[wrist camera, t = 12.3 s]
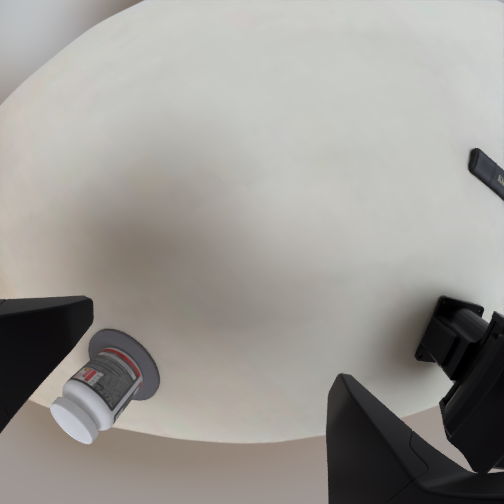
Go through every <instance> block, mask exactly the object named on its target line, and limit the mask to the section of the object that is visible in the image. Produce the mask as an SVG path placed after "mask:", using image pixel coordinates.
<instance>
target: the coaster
mask: <svg viewBox="0 0 504 504" xmlns="http://www.w3.org/2000/svg"><path fill="white" fill-rule="evenodd" d="M105 348H116V349H119V350H121V351H123V352H125V353H126V354H128V355H129V356H130V357H131V358H132V359H133V360H134V361H135V362H136V364H137V365H138V367H139V368H140V370H141V373H142V377H143V382H142V386H141V388H140V389H139V391H138V392H137V393H136V395H135V396H134V397H133V399H132V400H146V399H149V398H151V397H152V396H153V395H154V394H155V392H156V391H157V389H158V387H159V383H160V377H159V372H158V369H157V366H156V364H155V362H154V360H153V359H152V357H151V356H150V354H149V353H148V352H147V351H146V349H145V348H144V347H143V346H142V345H141V344H140V343H138V342H137V341H136V340H135V339H133V338H132V337H130V336H129V335H127V334H125V333H123V332H120V331H117V330H113V329H105V330H102V331H100V332H98V333H97V334H95V335H94V336H93V337H92V339H91V340H90V343H89V357H90V360H91V359H92V358H93V357H95V356H96V355H97V354H98V353H99V352H100V351H101V350H103V349H105Z"/></svg>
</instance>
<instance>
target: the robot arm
mask: <svg viewBox="0 0 504 504" xmlns="http://www.w3.org/2000/svg"><path fill="white" fill-rule="evenodd" d="M444 300H445V302H444V303H443V301H444ZM479 311H480V312H479ZM483 312H484V308H483V307H482V306H480V305H477V304H473V303H469V302H466V301H462V300H458V299H455V298H451V297H447V296H442V297H441V298H440V299H439V302H438V304H437V307H436V309H435V312H434V314H433V316H432V319H431V321H430V323H429V325H428V328H427V330H426V332H425V334H424V337H423V339H422V341H421V343H420V345H419V347H418V349H417V351H416V353H415V358H416V359H417V360H418V361H425V362H435V363H437V364H438V365H439V366H440V367H441V368H442V370H443V371H444V372H445V374H446V375H447V376H448V377H449V379H450V380H452V382H453V383H454V385H453V386H452V387H451V389H450V390H449V392H448V393H447V394H446V396H445V397H444V398H442V399H441V401H440V402H439V405H440V409H441V414H442V419H443V425H444V429H445V433H446V436H447V439H448V441H449V442H450V443H451V444H452V445H454V446H455V447H456V448H457V449H459V450H460V452H461V453H462V454H463V455H464V457H465V458H466V459H467V461H468V463H469V465H470V466H471V468H472V470H473V471H474V472H477V473H473V472H470V471H467V470H466V469H464V468H463V467H461V466H459V465H458V464H457V463H455V462H454V461H452V460H451V459H449V458H448V457H446V456H445V455H444V454H442V453H441V452H439V451H438V450H436V449H435V448H434V447H432V446H431V445H430V444H428V443H427V442H426V441H425V440H424V439H422V438H421V437H420V436H419V435H418V434H416V433H415V432H414V431H412V429H411V428H410V427H408V426H407V425H406V424H405V423H404V422H403V421H401V420H400V419H399V418H398V417H397V416H396V415H395V414H394V413H393V412H391V411H390V410H389V409H388V408H387V407H386V406H385V405H384V404H382V403H381V402H380V401H379V400H378V399H377V398H376V397H375V396H373V395H372V394H371V393H370V392H369V391H368V390H367V389H366V388H365V387H363V386H362V385H361V384H360V383H359V382H358V381H357V380H356V379H355V378H354V377H352V376H351V375H349V374H343V373H340V374H338V376H337V377H336V379H335V381H334V383H333V385H332V387H331V389H330V391H329V394H328V406H327V424H326V443H327V462H328V496H329V504H504V472H497V473H488V472H489V471H490V470H491V469H492V468H494V469H503V470H504V315H502V314H500V313H498V312H496V311H494V313H493V315H492V319H491V321H490V323H488V322H486V321H485V320H484V319H482V318H481V317H482V315H483ZM93 319H94V314H93V301H92V299H91V298H88V297H86V296H83V295H82V296H66V297H47V298H25V299H7V300H6V299H0V433H1V432H2V431H3V429H4V428H5V427H6V425H7V424H8V423H9V421H10V419H12V418H13V416H14V415H15V414H16V413H17V412H18V410H19V409H20V408H21V407H22V406H23V404H24V403H25V402H26V401H27V400H28V398H29V397H30V396H31V395H32V394H33V393H34V391H35V390H36V389H37V388H38V387H39V386H40V385H41V383H42V382H43V381H44V380H45V379H46V378H47V377H48V376H49V375H50V373H51V372H52V371H53V370H54V369H55V368H56V367H57V366H58V365H59V364H60V363H61V361H62V360H63V359H64V358H65V357H66V356H67V355H68V354H69V353H70V352H71V351H72V349H73V348H74V347H75V346H76V344H77V343H78V342H79V340H80V339H81V338H82V336H83V335H84V334H85V333H86V331H87V330H88V329H89V327H90V326H91V325H92V323H93ZM420 354H421V355H420ZM419 355H420V356H419Z"/></svg>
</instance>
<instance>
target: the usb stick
mask: <svg viewBox="0 0 504 504" xmlns="http://www.w3.org/2000/svg"><path fill="white" fill-rule="evenodd" d="M469 168H470V172H472V173H473V174H474V175H476V176H477V177H478V178H479V179H481V180H482V181H483V182H484V183H485V184H487V185H488V186H489V187H490V188H491V189H493V190H494V191H495V192H496V193H497V194H498V195H499V196H501V197H502V198H503V199H504V170H503V169H502V168H500V167H499V166H498V165H497V164H496V163H495V162H494V161H493V160H492V159H491V158H489V157H488V156H487V155H486V154H485V153H483V152H482V150H480V149H479V148H475V149H474V150H472V153H471V159H470V163H469Z"/></svg>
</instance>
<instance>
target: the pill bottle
mask: <svg viewBox="0 0 504 504" xmlns="http://www.w3.org/2000/svg"><path fill="white" fill-rule="evenodd" d="M142 382H143V377H142V373H141V370H140V368H139V367H138V365H137V364H136V362H135V361H134V360H133V359H132V358H131V357H130V356H129V355H128V354H126V353H125V352H123V351H121V350H119V349H116V348H105V349H103V350H101V351H100V352H99V353H98V354H97V355H96V356H95V357H93V358H92V359H91V360H90V361H89V362H88V363H87V364H86V365H85V366H83V367H82V368H81V369H80V370H79V371H78V372H77V373H76V374H74V375H73V376H72V377H71V378H70V379H69V380H68V381H67V382H66V383H65V384H64V386H63V391H62V393H63V397H58V398H57V399H56V400H55V401H54V402H53V403H52V404H51V406H50V409H51V413H52V415H53V417H54V418H55V420H56V421H57V423H58V424H59V425H60V426H61V427H62V428H63V430H64V431H65V432H67V433H68V434H69V435H70V436H72V437H73V438H74V439H76V440H78V441H80V442H82V443H85V444H91V443H92V442H93V441H94V439H95V438H96V437H97V435H98V430H107V429H109V428H110V427H111V426H112V425H113V424H114V423H115V421H116V420H117V419H118V417H119V416H120V415H121V413H122V412H123V411H124V409H125V408H126V407H127V405H128V404H129V403H130V401H131V400H132V399H133V397H134V396H135V395H136V393H137V392H138V391H139V389H140V388H141V386H142Z"/></svg>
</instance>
